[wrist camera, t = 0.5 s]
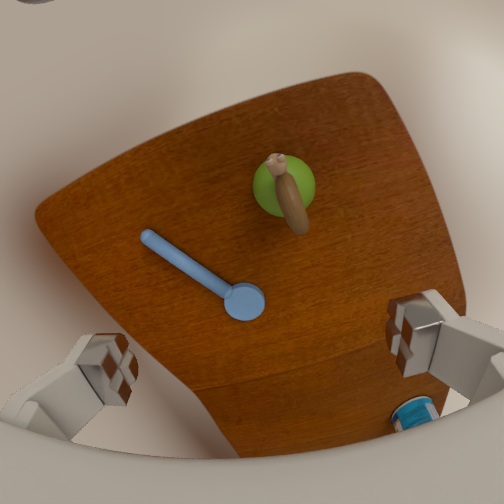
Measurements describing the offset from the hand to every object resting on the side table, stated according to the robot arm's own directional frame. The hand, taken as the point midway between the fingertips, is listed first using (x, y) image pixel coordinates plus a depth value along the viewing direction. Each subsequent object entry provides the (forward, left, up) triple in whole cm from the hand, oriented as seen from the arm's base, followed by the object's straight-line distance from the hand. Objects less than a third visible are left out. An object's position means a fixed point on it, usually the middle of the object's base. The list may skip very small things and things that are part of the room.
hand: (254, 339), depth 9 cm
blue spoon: (+10, +1, -22) cm, 24 cm away
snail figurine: (-2, +1, -22) cm, 22 cm away
